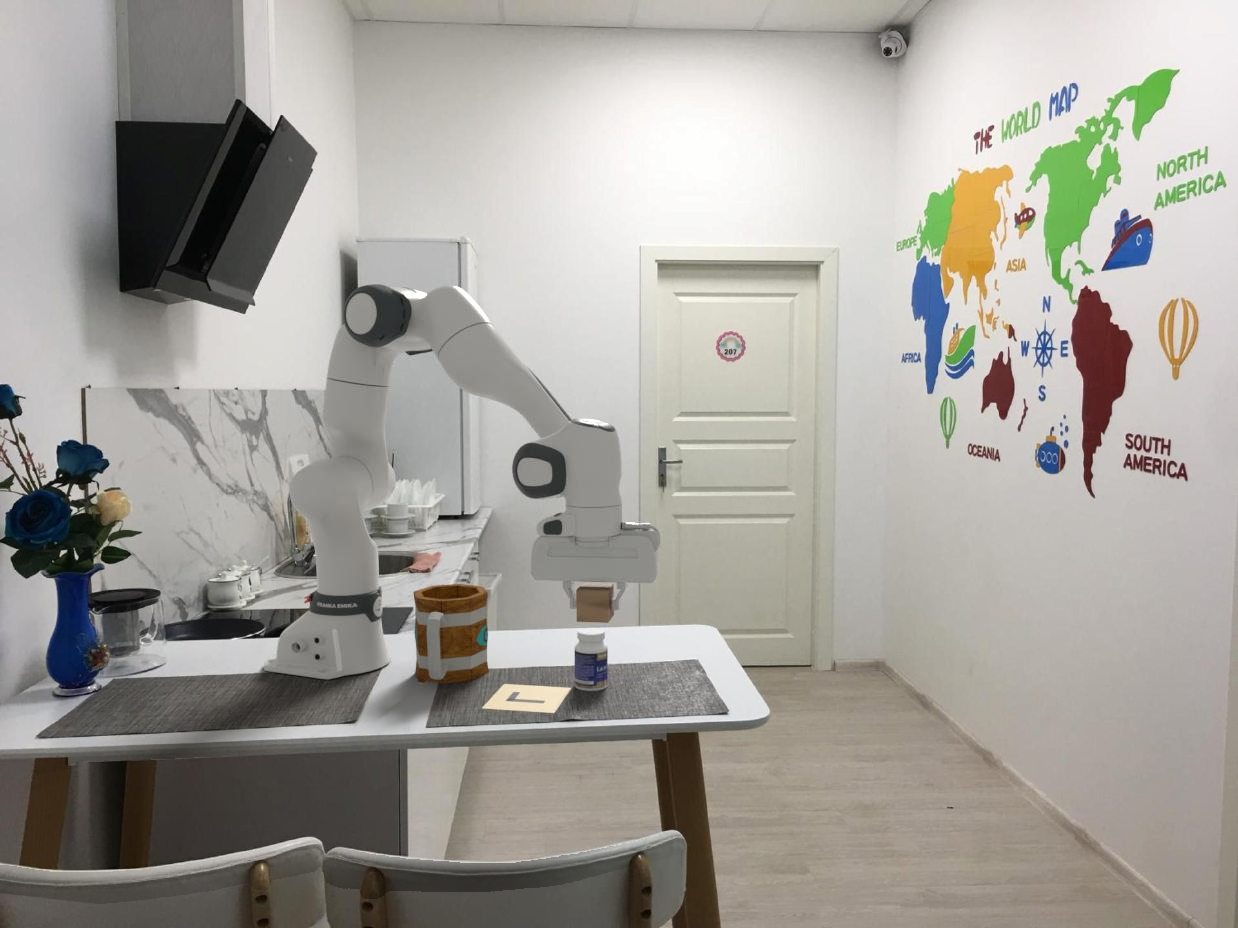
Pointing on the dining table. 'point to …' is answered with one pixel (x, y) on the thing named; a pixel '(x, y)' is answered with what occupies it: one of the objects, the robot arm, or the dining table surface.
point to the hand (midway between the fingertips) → (595, 608)
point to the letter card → (527, 698)
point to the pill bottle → (591, 660)
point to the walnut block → (594, 602)
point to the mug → (451, 633)
